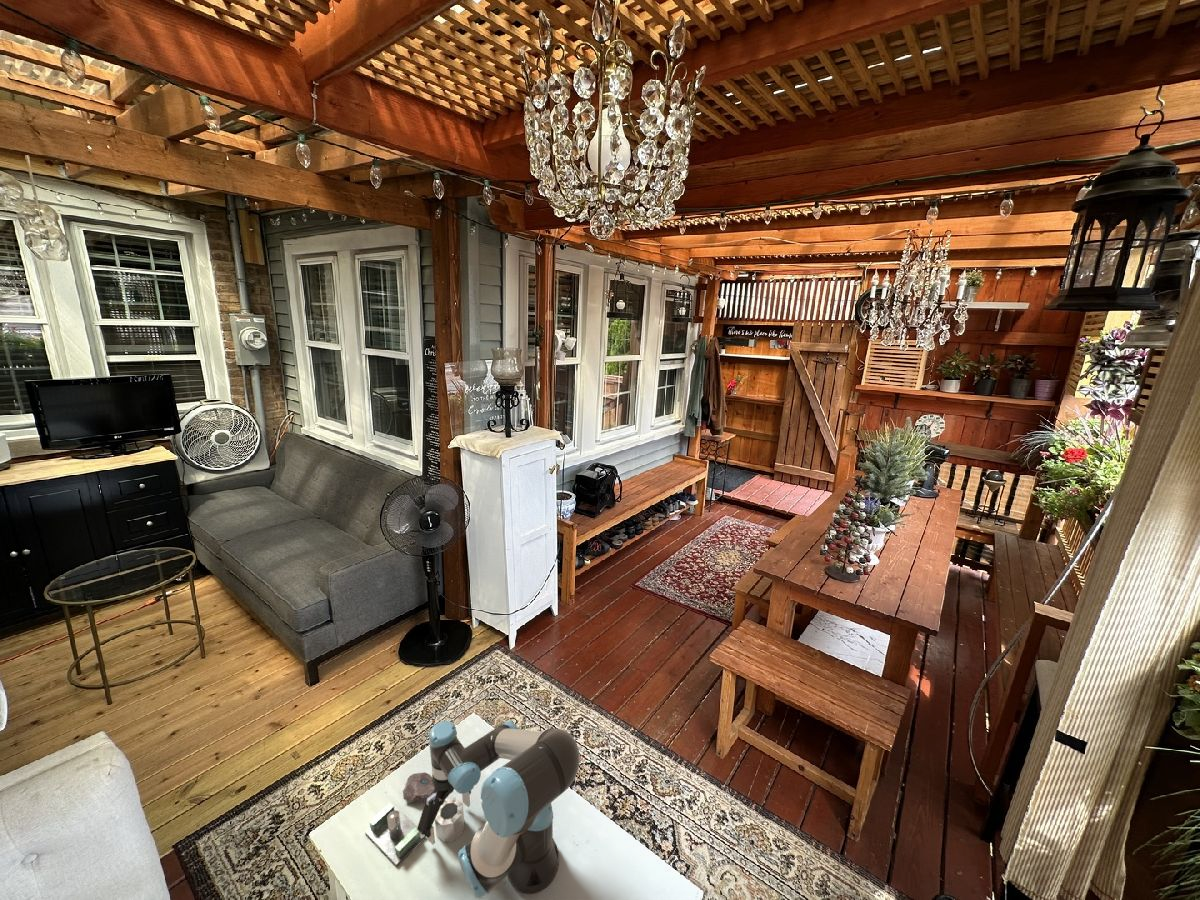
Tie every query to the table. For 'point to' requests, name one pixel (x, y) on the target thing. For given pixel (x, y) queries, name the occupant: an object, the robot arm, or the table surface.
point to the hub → (449, 820)
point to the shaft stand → (394, 834)
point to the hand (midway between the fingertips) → (449, 821)
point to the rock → (418, 787)
